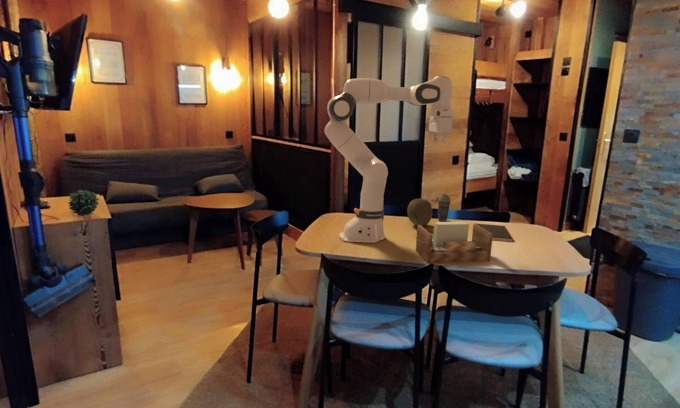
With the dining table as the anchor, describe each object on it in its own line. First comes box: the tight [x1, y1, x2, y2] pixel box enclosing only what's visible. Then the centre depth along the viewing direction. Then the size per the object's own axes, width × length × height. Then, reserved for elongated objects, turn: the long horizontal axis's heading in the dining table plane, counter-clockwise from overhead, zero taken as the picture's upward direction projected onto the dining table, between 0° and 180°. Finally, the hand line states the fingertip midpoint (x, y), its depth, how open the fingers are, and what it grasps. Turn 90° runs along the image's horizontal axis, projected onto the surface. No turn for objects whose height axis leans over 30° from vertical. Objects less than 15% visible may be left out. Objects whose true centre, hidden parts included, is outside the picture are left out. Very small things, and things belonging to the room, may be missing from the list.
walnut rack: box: [415, 223, 493, 264], centre depth 174 cm, size 28×15×12 cm, turn 97°
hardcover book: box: [476, 223, 514, 243], centre depth 210 cm, size 16×23×2 cm
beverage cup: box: [437, 187, 451, 222], centre depth 231 cm, size 7×7×20 cm
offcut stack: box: [433, 240, 476, 252], centre depth 171 cm, size 20×4×8 cm, turn 97°
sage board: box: [432, 221, 470, 248], centre depth 177 cm, size 14×4×14 cm, turn 97°
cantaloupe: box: [407, 198, 434, 227], centre depth 221 cm, size 14×14×15 cm
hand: (438, 142), depth 192 cm, fingers open, 8 cm apart
